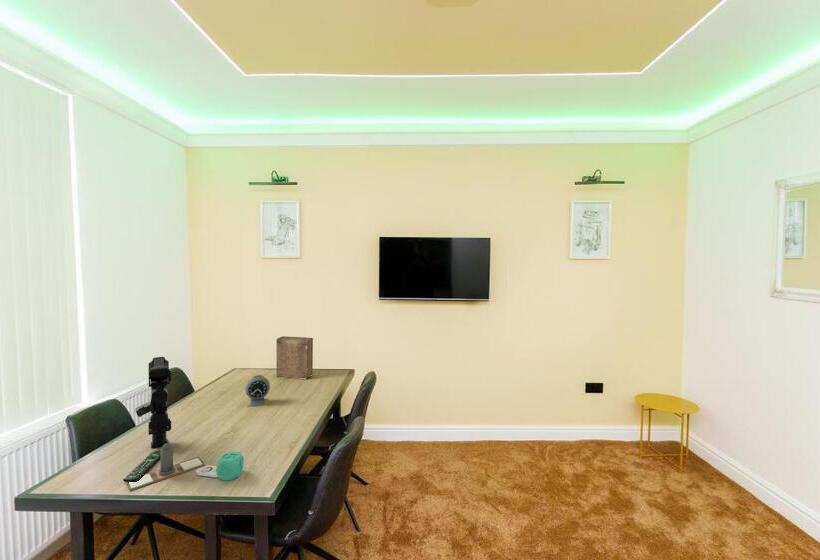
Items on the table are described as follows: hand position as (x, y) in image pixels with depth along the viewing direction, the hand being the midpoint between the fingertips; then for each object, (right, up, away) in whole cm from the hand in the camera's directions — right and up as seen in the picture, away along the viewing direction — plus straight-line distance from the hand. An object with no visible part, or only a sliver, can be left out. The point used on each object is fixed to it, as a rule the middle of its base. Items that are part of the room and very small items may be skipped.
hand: (159, 430), depth 166 cm
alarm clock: (+17, -10, +66) cm, 69 cm away
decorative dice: (+38, -14, -12) cm, 42 cm away
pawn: (+11, -12, -12) cm, 20 cm away
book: (+23, -8, +121) cm, 124 cm away
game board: (+11, -13, -12) cm, 21 cm away
